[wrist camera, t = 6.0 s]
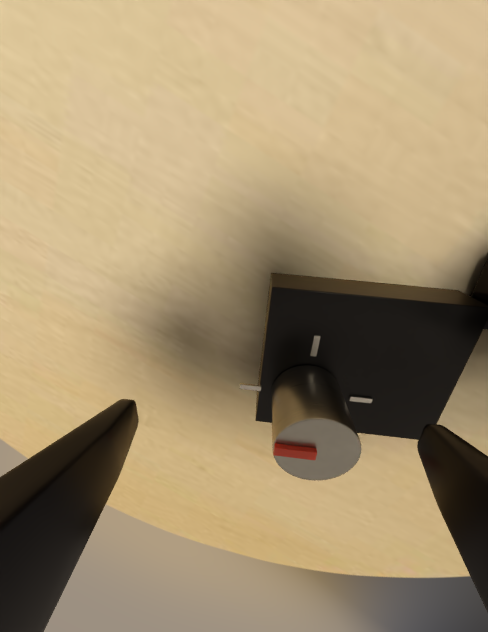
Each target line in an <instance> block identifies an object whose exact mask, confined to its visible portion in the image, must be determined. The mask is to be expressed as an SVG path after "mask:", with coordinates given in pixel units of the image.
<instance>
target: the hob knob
mask: <svg viewBox="0 0 488 632" xmlns="http://www.w3.org/2000/svg"><path fill="white" fill-rule="evenodd" d="M271 396H272V442H273V455H274V458H275V460H276V462H277V463H278V465H279V466H280V467H281V468H282V469H283V470H284V471H286V472H287V473H289V474H291V475H293V476H295V477H298V478H302V479H306V480H327V479H331V478H335V477H338V476H340V475H342V474H344V473H346V472H348V471H349V470H350V469H351V468H353V466H354V465H355V464H356V463H357V461H358V460H359V457H360V454H361V443H360V440H359V437H358V434H357V432H356V429H355V426H354V424H353V421H352V418H351V416H350V413H349V410H348V408H347V405H346V402H345V400H344V397H343V395H342V392H341V389H340V387H339V384H338V382H337V380H336V379H335V377H334V376H333V375H332V374H331V373H329V372H328V371H326V370H325V369H322V368H320V367H317V366H311V365H302V366H296V367H293V368H290V369H288V370H286V371H285V372H283V373H282V374H281V375H280V376H278V378H277V379H276V380H275V382H274V384H273V386H272V393H271Z"/></svg>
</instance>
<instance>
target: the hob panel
mask: <svg viewBox="0 0 488 632" xmlns="http://www.w3.org/2000/svg"><path fill="white" fill-rule="evenodd" d="M487 320H488V305H486V304H484V303H482V302H480V301H478V300H476V299H474V298H472V297H470V296H468V295H466V294H464V293H462V292H460V291H458V290H448V289H438V288H427V287H416V286H406V285H395V284H384V283H374V282H363V281H352V280H341V279H331V278H320V277H309V276H299V275H288V274H277V273H271V279H270V287H269V296H268V304H267V313H266V321H265V329H264V338H263V346H262V355H261V363H260V371H259V380H258V385H253V384H244V383H240V389H246V390H255V391H257V402H256V421H262V422H270V423H272V396H271V393H272V386H273V384H274V382H275V380H276V379H277V378H278V376H280V375H281V374H282V373H283V372H285V371H286V370H288V369H290V368H293V367H296V366H302V365H311V366H317V367H320V368H322V369H325V370H326V371H328V372H329V373H331V374H332V375H333V376H334V377H335V379H336V380H337V382H338V384H339V387H340V389H341V392H342V395H343V397H344V400H345V402H346V405H347V408H348V410H349V413H350V416H351V418H352V421H353V424H354V426H355V429H356V432H357V433H365V434H374V435H383V436H391V437H400V438H409V439H417V440H419V439H420V436H421V434H422V431H423V429H424V427H425V425H427V424H437V422H438V420H439V418H440V416H441V414H442V412H443V410H444V407H445V405H446V403H447V401H448V399H449V397H450V395H451V393H452V391H453V389H454V387H455V385H456V383H457V381H458V379H459V377H460V375H461V373H462V371H463V369H464V367H465V365H466V363H467V361H468V359H469V357H470V355H471V353H472V351H473V349H474V347H475V345H476V343H477V341H478V338H479V336H480V334H481V332H482V330H483V328H484V326H485V324H486V322H487Z"/></svg>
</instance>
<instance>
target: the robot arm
mask: <svg viewBox="0 0 488 632" xmlns="http://www.w3.org/2000/svg"><path fill="white" fill-rule="evenodd" d="M471 297H472V298H474V299H476V300H478V301H480V302H482V303H484V304H486V305H488V259H487V262H486V264H485V266H484V268H483V270H482V273H481V275H480V277H479V279H478V282H477V284H476V286H475V288H474V291H473V293H472V295H471ZM483 329H488V320H487V322H486V324H485V326H484V328H483ZM137 426H138V414H137V407H136V403H135V401H134V400H128V399H121V400H119V401H118V402H116V403H115V404H113V405H111V406H110V407H108V408H107V409H105V410H104V411H102V412H101V413H99V414H97V415H96V416H94V417H93V418H91V419H90V420H88V421H87V422H85V423H83V424H82V425H80V426H79V427H77V428H76V429H74V430H73V431H71V432H70V433H68V434H66V435H65V436H63V437H62V438H60V439H59V440H57V441H56V442H54V443H52V444H51V445H49V446H48V447H46V448H45V449H43V450H42V451H40V452H38V453H37V454H35V455H34V456H32V457H31V458H29V459H28V460H26V461H25V462H23V463H22V464H20V465H19V466H17V467H15V468H14V469H12V470H11V471H9V472H7V473H6V474H4V475H3V476H1V477H0V632H44V630H45V628H46V626H47V623H48V622H49V619H50V617H51V615H52V613H53V611H54V609H55V607H56V605H57V603H58V601H59V599H60V597H61V595H62V593H63V591H64V588H65V586H66V584H67V582H68V580H69V578H70V576H71V574H72V572H73V570H74V568H75V566H76V564H77V562H78V560H79V557H80V555H81V554H82V551H83V549H84V547H85V545H86V543H87V541H88V539H89V536H90V535H91V533H92V531H93V529H94V527H95V525H96V523H97V520H98V518H99V516H100V514H101V512H102V510H103V508H104V506H105V504H106V502H107V500H108V498H109V496H110V494H111V492H112V490H113V488H114V486H115V484H116V481H117V479H118V477H119V475H120V472H121V470H122V467H123V465H124V462H125V459H126V456H127V454H128V451H129V448H130V446H131V443H132V440H133V437H134V435H135V432H136V429H137ZM417 447H418V452H419V455H420V458H421V461H422V463H423V466H424V469H425V472H426V475H427V477H428V480H429V483H430V486H431V488H432V491H433V494H434V497H435V499H436V502H437V504H438V507H439V509H440V511H441V513H442V516H443V518H444V520H445V522H446V524H447V526H448V529H449V531H450V533H451V535H452V537H453V539H454V541H455V544H456V546H457V548H458V550H459V552H460V554H461V556H462V559H463V561H464V563H465V565H466V567H467V569H468V571H469V574H470V576H471V578H472V580H473V582H474V584H475V586H476V588H477V591H478V593H479V595H480V597H481V599H482V601H483V604H484V606H485V608H486V610H487V612H488V456H486V455H485V454H484V453H482V452H481V451H479V450H478V449H476V448H475V447H473V446H472V445H470V444H469V443H468V442H466V441H465V440H463V439H462V438H460V437H459V436H457V435H456V434H454V433H453V432H451V431H450V430H449V429H447V428H446V427H444V426H442V425H437V424H427V425H425V427H424V429H423V431H422V434H421V436H420V439H419V441H418V445H417Z"/></svg>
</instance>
